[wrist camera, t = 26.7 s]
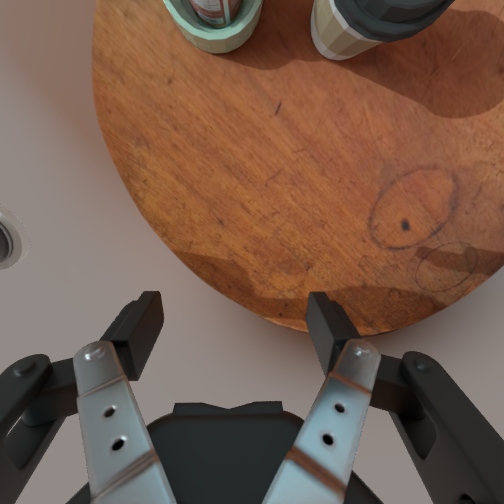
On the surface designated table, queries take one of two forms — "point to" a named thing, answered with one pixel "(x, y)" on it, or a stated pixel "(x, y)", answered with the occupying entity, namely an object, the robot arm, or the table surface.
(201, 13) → the pill bottle
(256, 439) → the robot arm
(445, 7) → the coffee cup
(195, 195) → the table surface
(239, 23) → the bowl
